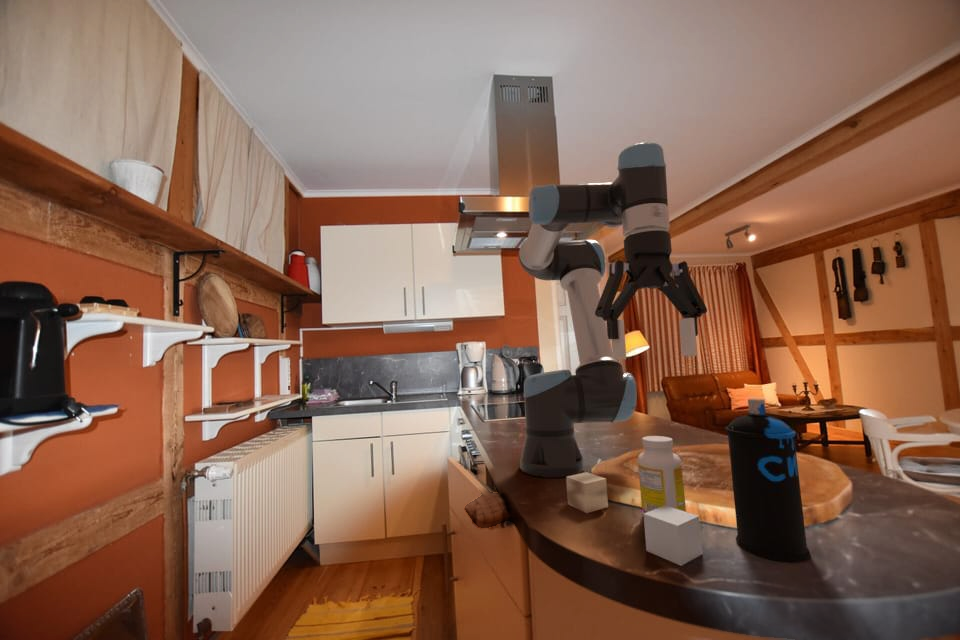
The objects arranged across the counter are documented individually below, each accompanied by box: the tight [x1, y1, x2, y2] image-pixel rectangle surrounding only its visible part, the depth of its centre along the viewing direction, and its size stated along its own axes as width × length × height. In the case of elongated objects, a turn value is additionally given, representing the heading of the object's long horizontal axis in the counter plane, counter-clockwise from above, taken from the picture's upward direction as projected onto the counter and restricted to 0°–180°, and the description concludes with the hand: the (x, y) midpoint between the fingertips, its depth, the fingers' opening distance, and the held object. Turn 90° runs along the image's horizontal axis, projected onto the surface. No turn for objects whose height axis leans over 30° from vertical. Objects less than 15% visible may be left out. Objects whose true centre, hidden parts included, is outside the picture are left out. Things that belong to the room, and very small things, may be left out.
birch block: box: [565, 471, 609, 514], centre depth 72 cm, size 5×5×5 cm
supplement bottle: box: [637, 435, 687, 517], centre depth 66 cm, size 7×7×13 cm
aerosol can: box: [724, 398, 811, 563], centre depth 55 cm, size 8×8×20 cm
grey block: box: [643, 505, 703, 566], centre depth 54 cm, size 5×5×5 cm
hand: (655, 357), depth 67 cm, fingers open, 13 cm apart
